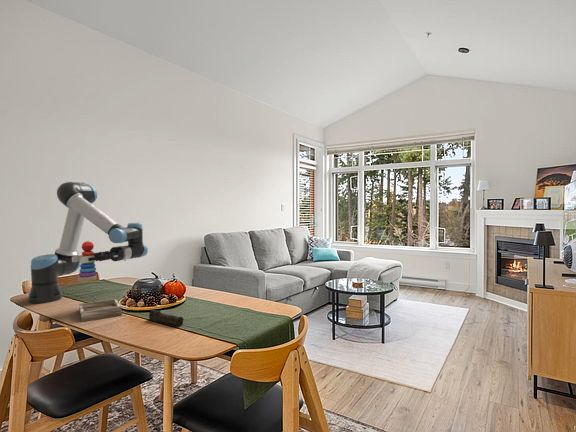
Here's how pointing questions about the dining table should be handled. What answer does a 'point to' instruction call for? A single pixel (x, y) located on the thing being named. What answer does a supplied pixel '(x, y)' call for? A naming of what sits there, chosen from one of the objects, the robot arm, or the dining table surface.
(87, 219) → the robot arm
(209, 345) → the dining table surface
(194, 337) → the dining table surface
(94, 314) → the grey wooden tray
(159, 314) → the hand tool
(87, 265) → the stacking toy
